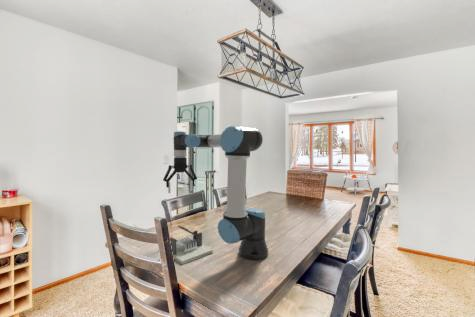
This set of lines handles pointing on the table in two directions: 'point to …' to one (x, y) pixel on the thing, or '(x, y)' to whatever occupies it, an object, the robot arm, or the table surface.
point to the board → (192, 254)
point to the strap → (188, 231)
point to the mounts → (198, 240)
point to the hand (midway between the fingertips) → (180, 191)
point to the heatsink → (186, 245)
